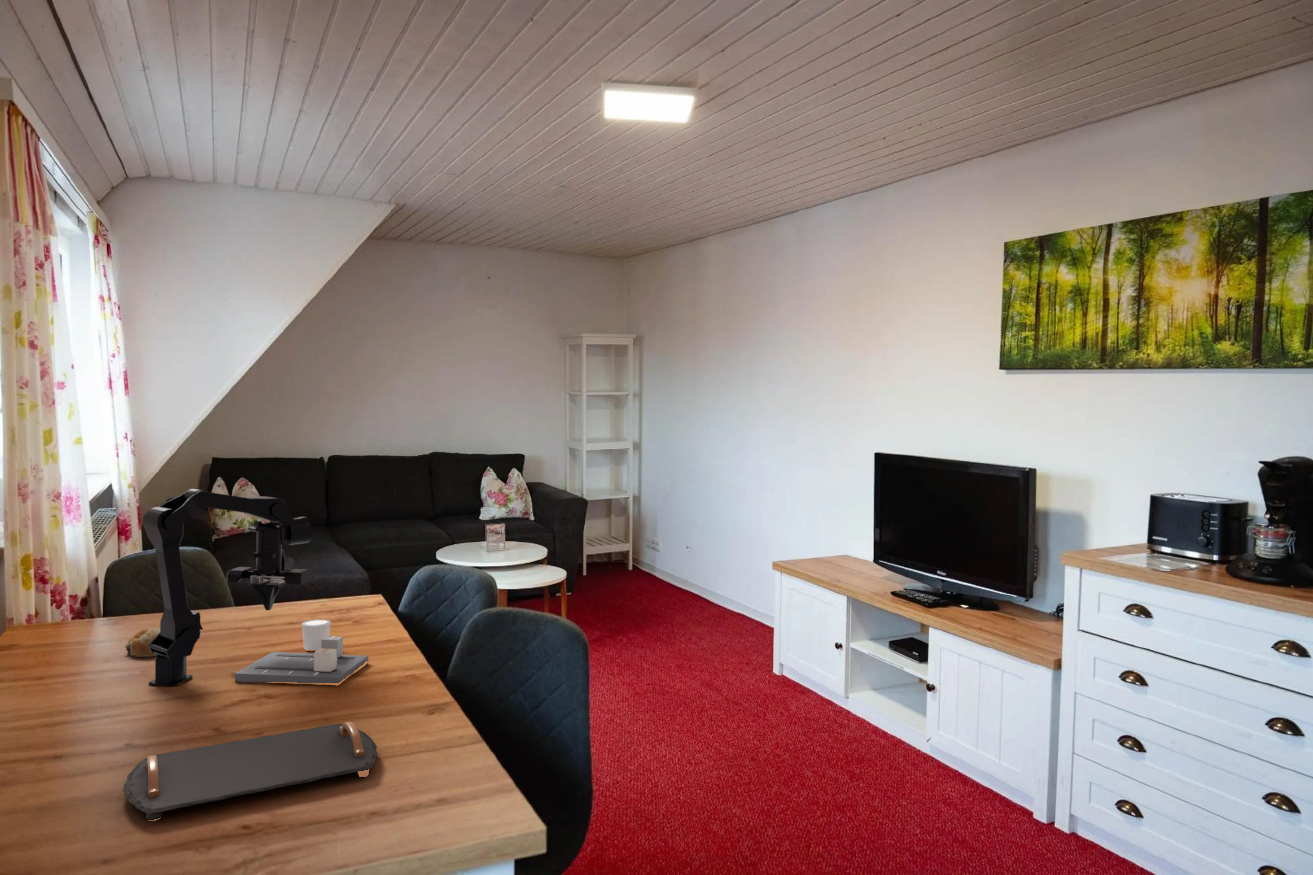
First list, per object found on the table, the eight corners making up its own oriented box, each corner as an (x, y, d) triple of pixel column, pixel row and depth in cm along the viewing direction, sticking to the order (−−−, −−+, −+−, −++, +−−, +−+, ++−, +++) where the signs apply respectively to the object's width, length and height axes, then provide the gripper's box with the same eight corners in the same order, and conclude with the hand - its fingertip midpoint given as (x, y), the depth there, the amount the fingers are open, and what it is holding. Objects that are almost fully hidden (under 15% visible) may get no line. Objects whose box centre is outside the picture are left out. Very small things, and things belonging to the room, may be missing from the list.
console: (338, 686, 189) (338, 676, 188) (234, 681, 190) (234, 672, 190) (368, 663, 205) (368, 655, 205) (272, 659, 207) (272, 651, 207)
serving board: (358, 733, 163) (359, 702, 163) (390, 779, 143) (391, 743, 143) (123, 776, 142) (123, 740, 142) (123, 836, 123) (123, 794, 122)
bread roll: (150, 673, 206) (164, 644, 205) (112, 654, 206) (126, 625, 205) (174, 661, 215) (187, 633, 215) (138, 643, 215) (151, 615, 215)
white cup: (334, 645, 220) (335, 619, 220) (321, 653, 213) (322, 626, 213) (310, 644, 221) (310, 618, 220) (296, 651, 214) (296, 624, 214)
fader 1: (337, 658, 202) (337, 639, 202) (321, 657, 202) (321, 639, 202) (342, 654, 205) (342, 636, 205) (326, 654, 205) (326, 635, 205)
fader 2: (330, 671, 192) (331, 651, 191) (313, 670, 192) (314, 651, 192) (336, 667, 195) (336, 648, 194) (319, 666, 195) (320, 647, 195)
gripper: (320, 543, 215) (319, 604, 215) (249, 541, 216) (249, 601, 216) (300, 550, 204) (299, 614, 204) (225, 548, 205) (224, 611, 205)
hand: (268, 609), depth 208 cm, fingers closed
